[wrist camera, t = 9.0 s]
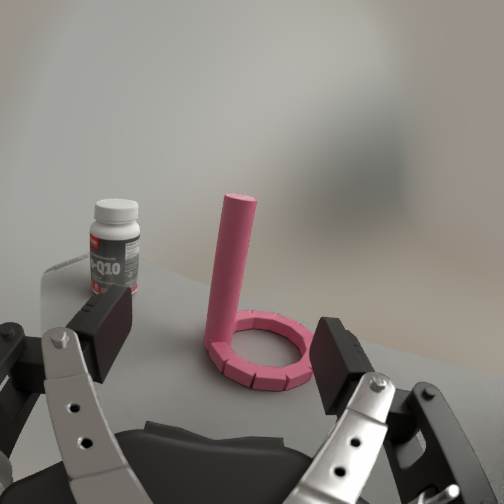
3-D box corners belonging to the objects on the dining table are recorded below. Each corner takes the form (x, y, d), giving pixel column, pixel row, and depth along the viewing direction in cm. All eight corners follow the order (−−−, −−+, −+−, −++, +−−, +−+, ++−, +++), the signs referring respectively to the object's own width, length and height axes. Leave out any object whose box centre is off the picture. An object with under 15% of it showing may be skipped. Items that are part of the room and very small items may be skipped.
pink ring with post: (305, 327, 25) (339, 207, 22) (326, 393, 17) (387, 239, 14) (209, 314, 24) (228, 186, 21) (197, 382, 17) (218, 206, 13)
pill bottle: (82, 291, 23) (79, 203, 20) (109, 273, 27) (110, 195, 25) (122, 306, 23) (122, 212, 20) (146, 285, 27) (151, 202, 24)
